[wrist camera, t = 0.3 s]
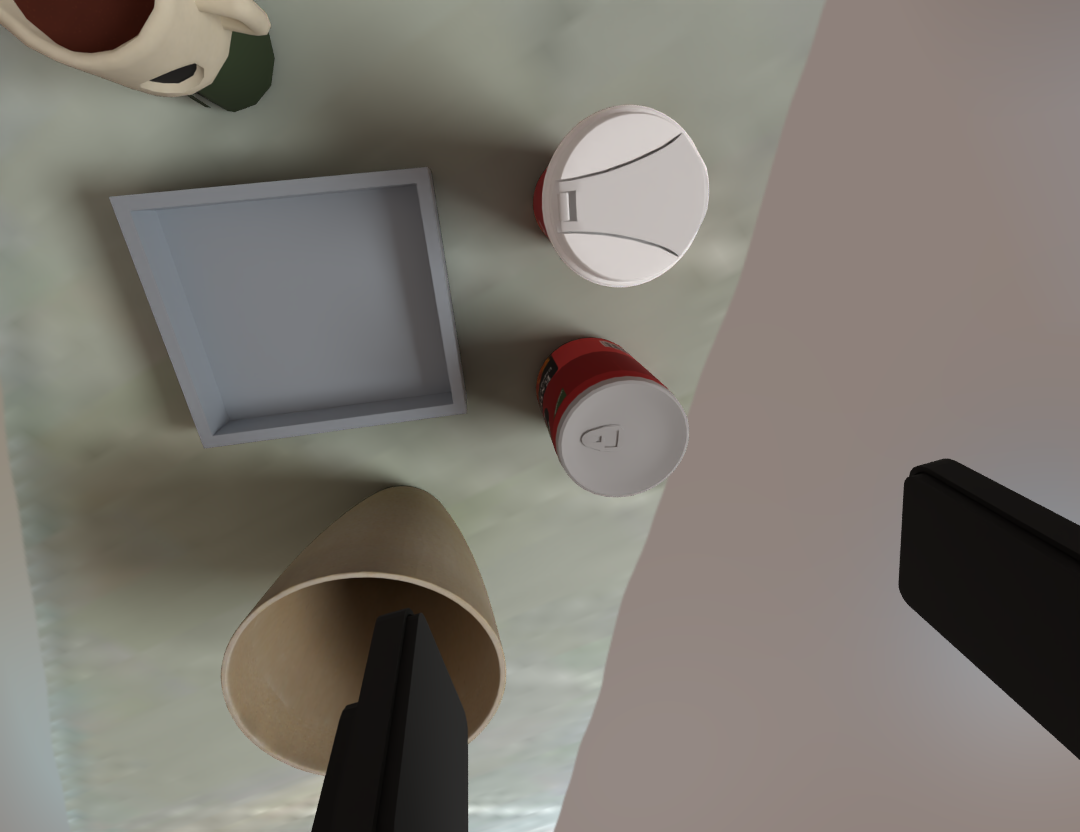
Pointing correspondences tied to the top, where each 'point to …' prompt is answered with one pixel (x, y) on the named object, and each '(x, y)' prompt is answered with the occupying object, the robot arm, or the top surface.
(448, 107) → the top surface
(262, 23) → the character mug
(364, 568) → the plant pot
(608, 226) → the paper cup
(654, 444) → the canned food
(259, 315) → the grey bin
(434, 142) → the top surface
